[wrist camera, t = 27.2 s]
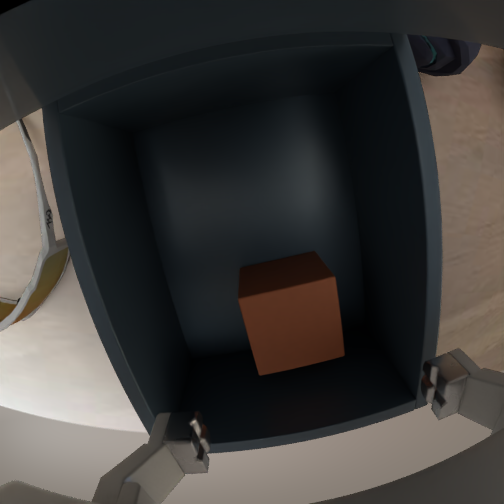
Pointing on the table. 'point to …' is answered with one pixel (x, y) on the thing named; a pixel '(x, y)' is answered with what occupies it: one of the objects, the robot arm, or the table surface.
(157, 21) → the lid
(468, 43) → the portable speaker
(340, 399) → the open box
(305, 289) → the block
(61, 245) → the sunglasses
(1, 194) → the table surface
